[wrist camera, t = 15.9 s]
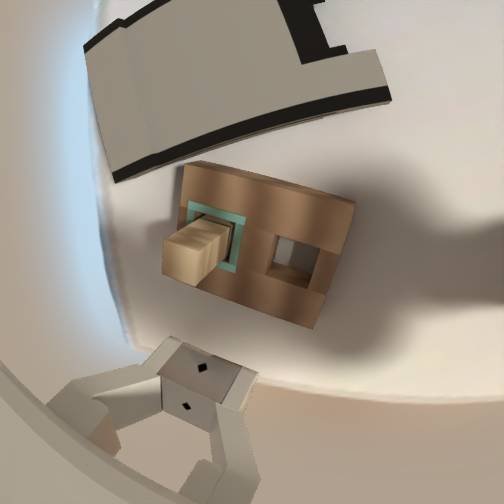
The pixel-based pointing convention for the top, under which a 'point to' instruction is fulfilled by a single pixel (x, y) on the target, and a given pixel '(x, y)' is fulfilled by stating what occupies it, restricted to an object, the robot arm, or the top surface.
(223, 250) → the peg
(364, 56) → the game console
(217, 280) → the board
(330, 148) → the top surface
